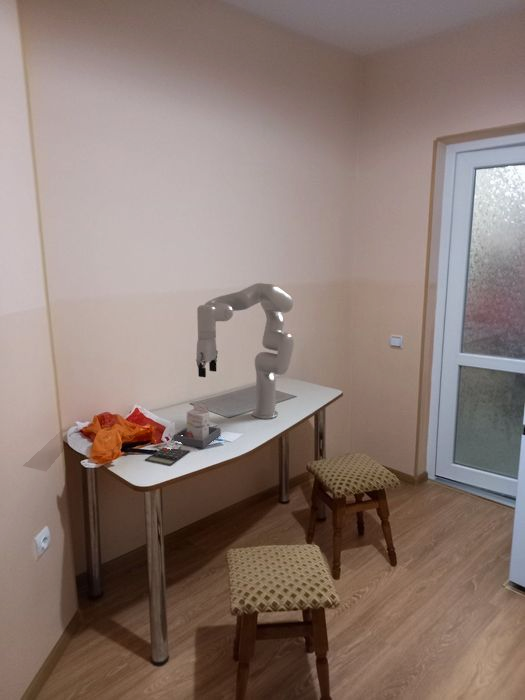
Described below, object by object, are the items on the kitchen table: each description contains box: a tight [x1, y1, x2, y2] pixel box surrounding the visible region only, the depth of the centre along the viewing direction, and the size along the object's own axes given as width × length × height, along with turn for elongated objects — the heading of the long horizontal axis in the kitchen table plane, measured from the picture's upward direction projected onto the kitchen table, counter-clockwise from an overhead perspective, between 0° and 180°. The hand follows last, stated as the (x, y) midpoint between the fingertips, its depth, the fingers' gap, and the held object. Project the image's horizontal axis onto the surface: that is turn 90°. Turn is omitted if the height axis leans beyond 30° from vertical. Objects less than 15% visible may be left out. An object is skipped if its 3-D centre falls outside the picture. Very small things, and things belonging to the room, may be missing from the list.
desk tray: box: [172, 425, 222, 450], centre depth 216 cm, size 16×14×4 cm
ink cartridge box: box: [186, 402, 210, 440], centre depth 215 cm, size 9×5×15 cm, turn 60°
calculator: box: [144, 447, 191, 467], centre depth 199 cm, size 12×1×15 cm
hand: (207, 373), depth 216 cm, fingers open, 9 cm apart
